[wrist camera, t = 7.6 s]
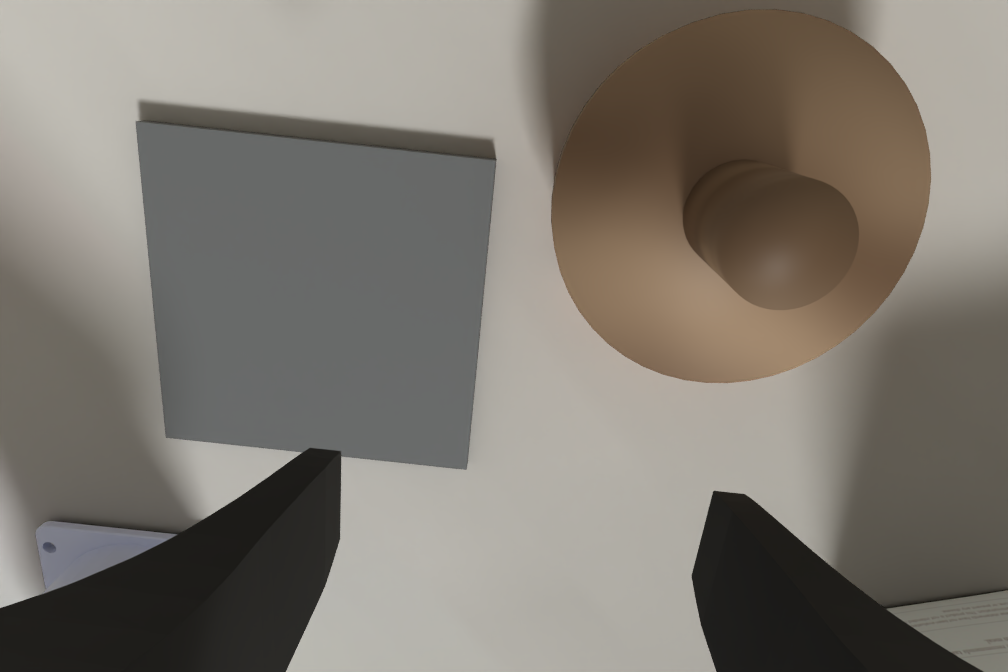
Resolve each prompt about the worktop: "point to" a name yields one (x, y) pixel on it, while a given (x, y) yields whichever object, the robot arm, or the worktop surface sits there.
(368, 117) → the worktop surface
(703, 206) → the lid
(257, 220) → the mat
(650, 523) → the worktop surface
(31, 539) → the worktop surface
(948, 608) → the supplement box
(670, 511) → the worktop surface
